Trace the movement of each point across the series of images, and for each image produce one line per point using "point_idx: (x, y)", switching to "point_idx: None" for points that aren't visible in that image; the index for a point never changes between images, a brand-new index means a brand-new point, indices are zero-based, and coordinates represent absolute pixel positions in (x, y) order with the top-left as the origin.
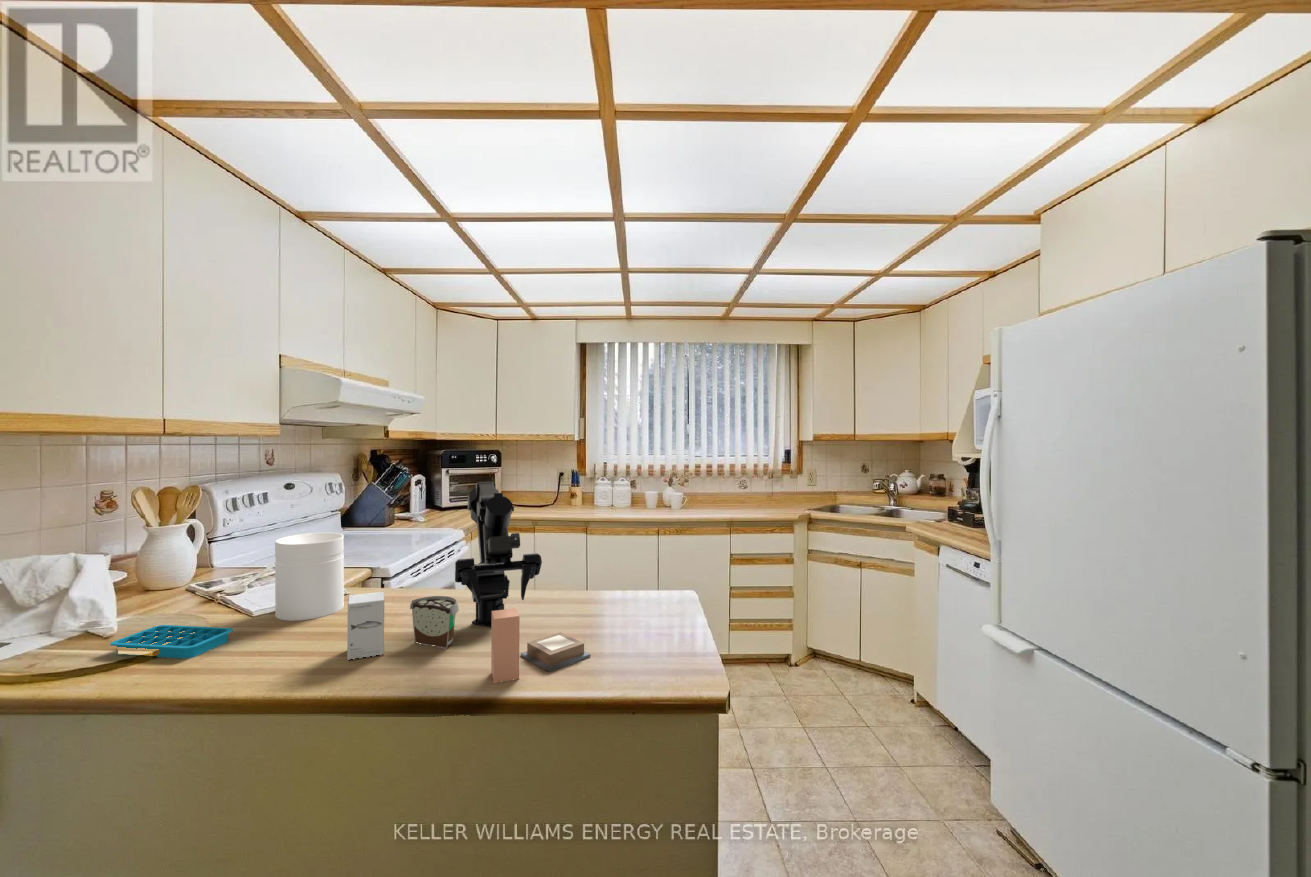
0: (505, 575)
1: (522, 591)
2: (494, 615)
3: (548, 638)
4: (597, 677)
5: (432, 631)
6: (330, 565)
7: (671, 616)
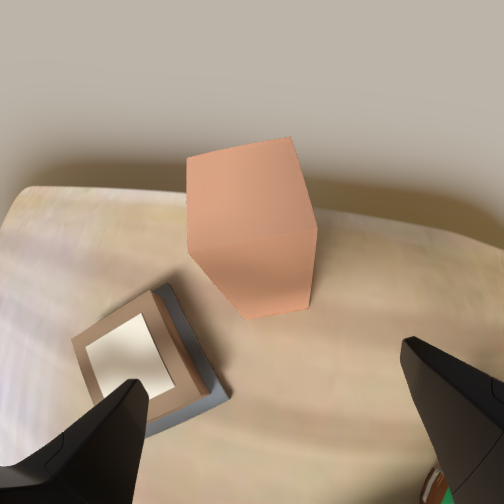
0: None
1: (118, 400)
2: (293, 169)
3: None
4: (96, 244)
5: None
6: None
7: None
